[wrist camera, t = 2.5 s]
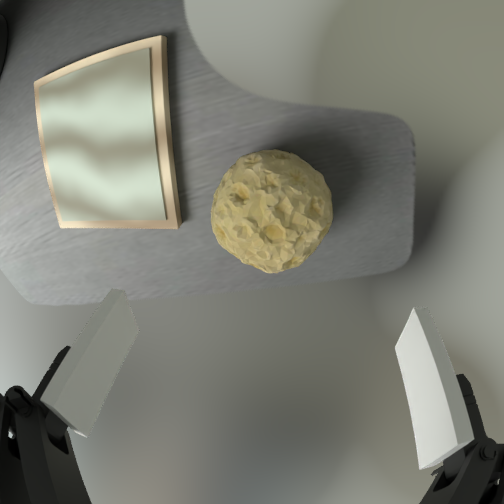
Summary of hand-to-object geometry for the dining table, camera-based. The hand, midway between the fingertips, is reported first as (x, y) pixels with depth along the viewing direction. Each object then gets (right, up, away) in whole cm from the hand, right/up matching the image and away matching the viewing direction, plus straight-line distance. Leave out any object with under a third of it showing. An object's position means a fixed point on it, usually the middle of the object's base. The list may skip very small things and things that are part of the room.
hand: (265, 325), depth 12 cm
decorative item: (+2, +8, +13) cm, 15 cm away
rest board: (-15, +14, +11) cm, 24 cm away
